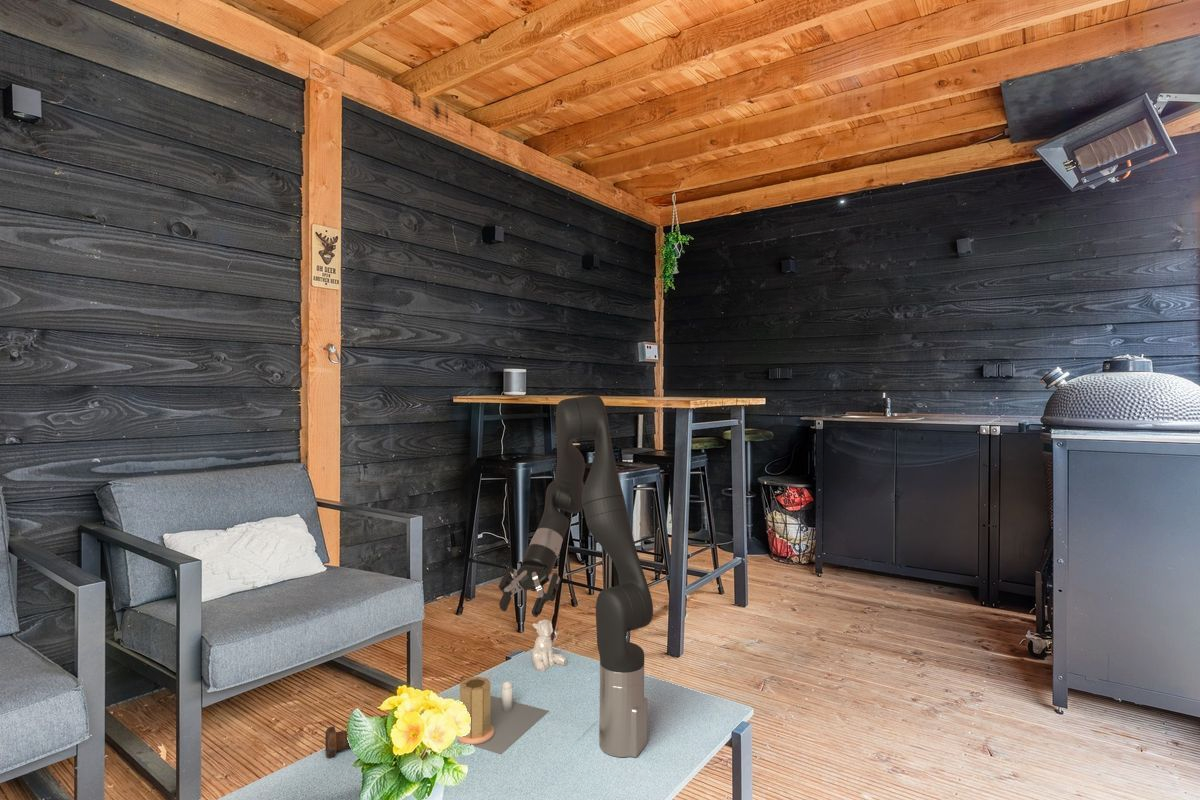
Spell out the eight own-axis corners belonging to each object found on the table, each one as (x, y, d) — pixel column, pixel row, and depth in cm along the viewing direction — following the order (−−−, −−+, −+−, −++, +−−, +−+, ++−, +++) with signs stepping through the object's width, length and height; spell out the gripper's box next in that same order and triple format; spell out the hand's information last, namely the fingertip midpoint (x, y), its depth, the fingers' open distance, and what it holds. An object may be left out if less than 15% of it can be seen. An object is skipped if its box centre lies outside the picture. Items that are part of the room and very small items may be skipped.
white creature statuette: (539, 675, 166) (539, 629, 166) (520, 664, 172) (520, 620, 172) (568, 665, 172) (568, 620, 172) (548, 655, 179) (549, 612, 178)
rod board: (549, 717, 145) (549, 682, 145) (499, 763, 127) (499, 723, 127) (483, 699, 153) (483, 666, 153) (428, 740, 135) (428, 703, 135)
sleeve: (495, 727, 136) (495, 680, 136) (478, 741, 131) (478, 692, 131) (472, 720, 139) (472, 674, 139) (454, 734, 134) (454, 686, 133)
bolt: (403, 746, 136) (326, 764, 129) (399, 725, 140) (324, 741, 133) (406, 729, 134) (328, 746, 127) (402, 708, 138) (326, 723, 130)
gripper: (512, 539, 159) (485, 600, 148) (563, 546, 153) (539, 609, 142) (524, 556, 164) (498, 615, 153) (574, 562, 158) (550, 625, 147)
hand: (518, 612), depth 148 cm, fingers open, 8 cm apart
